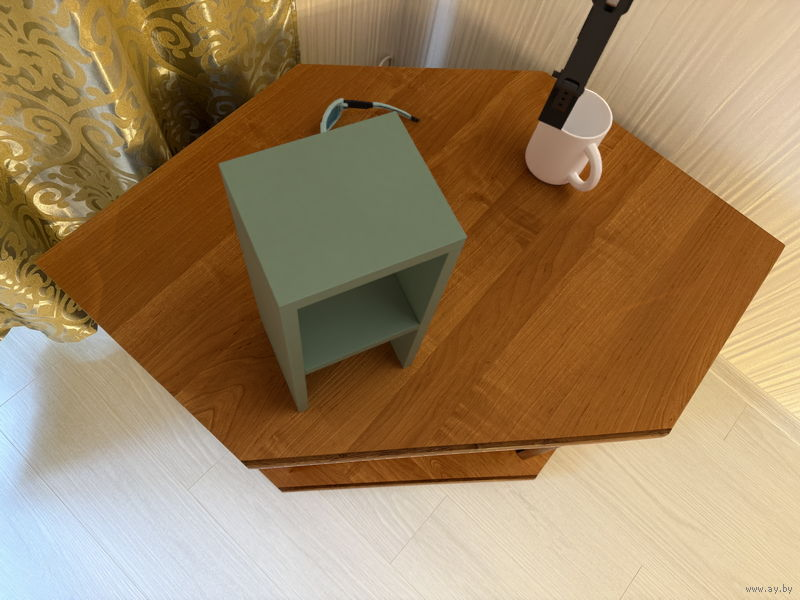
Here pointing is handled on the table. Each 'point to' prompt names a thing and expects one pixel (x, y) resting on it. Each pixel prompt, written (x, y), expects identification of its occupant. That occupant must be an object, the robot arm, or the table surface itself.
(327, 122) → the sunglasses
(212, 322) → the table surface
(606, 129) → the mug
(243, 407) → the table surface
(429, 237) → the shelf
